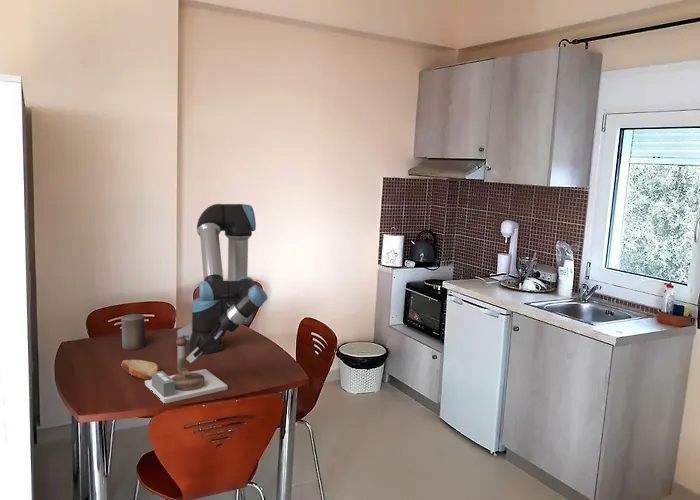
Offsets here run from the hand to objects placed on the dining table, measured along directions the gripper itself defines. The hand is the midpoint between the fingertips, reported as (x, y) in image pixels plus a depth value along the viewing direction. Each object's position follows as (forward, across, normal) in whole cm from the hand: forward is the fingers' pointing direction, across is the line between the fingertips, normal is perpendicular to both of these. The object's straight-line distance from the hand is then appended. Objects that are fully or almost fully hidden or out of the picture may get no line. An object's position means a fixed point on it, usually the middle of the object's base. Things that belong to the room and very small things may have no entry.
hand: (188, 360), depth 230 cm
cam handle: (+4, -6, -4) cm, 9 cm away
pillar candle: (+27, +38, +16) cm, 50 cm away
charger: (+11, +56, -1) cm, 57 cm away
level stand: (+5, -7, -6) cm, 11 cm away
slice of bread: (+21, +9, +9) cm, 24 cm away
